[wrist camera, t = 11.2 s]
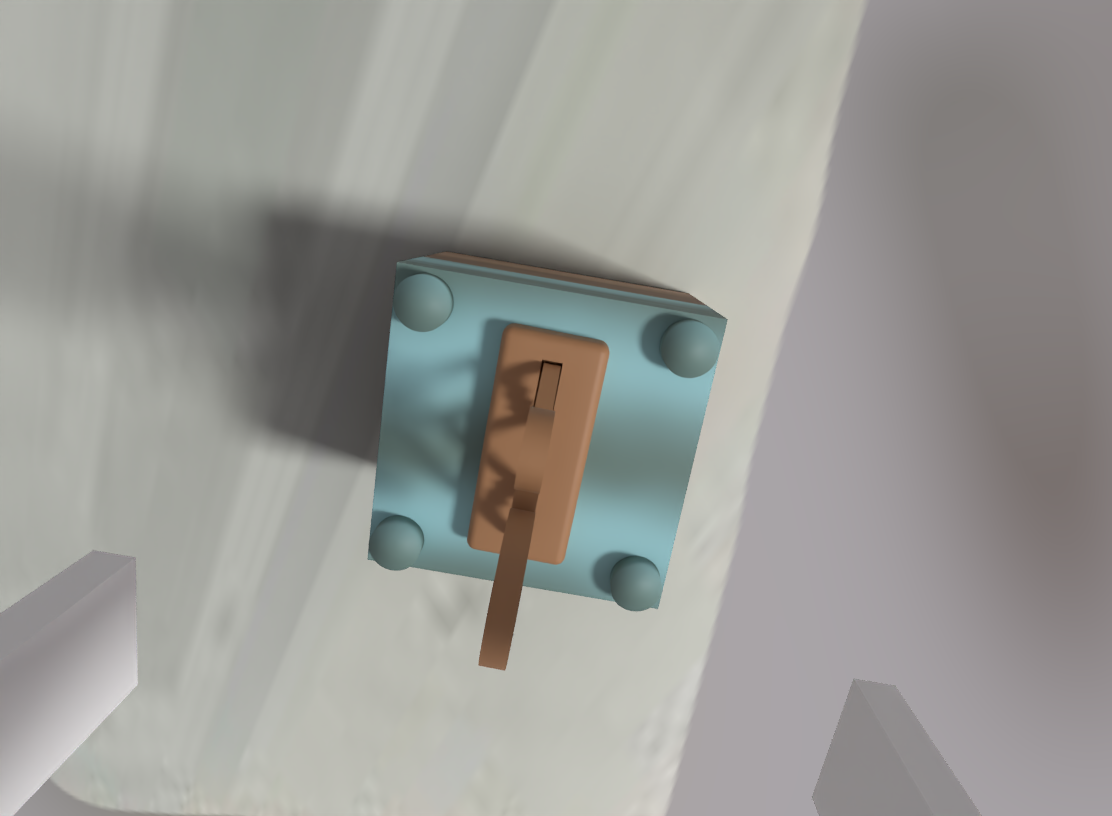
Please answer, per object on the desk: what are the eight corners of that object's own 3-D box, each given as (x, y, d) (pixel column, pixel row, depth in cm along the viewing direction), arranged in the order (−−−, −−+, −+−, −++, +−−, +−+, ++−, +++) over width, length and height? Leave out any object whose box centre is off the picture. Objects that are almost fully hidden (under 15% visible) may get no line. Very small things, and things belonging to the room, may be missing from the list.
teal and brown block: (446, 251, 32) (390, 263, 23) (688, 293, 32) (732, 322, 23) (420, 477, 35) (361, 569, 26) (639, 514, 36) (660, 620, 26)
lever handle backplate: (563, 556, 26) (549, 816, 15) (468, 538, 26) (380, 784, 15) (610, 342, 24) (636, 452, 12) (505, 321, 24) (434, 413, 12)
